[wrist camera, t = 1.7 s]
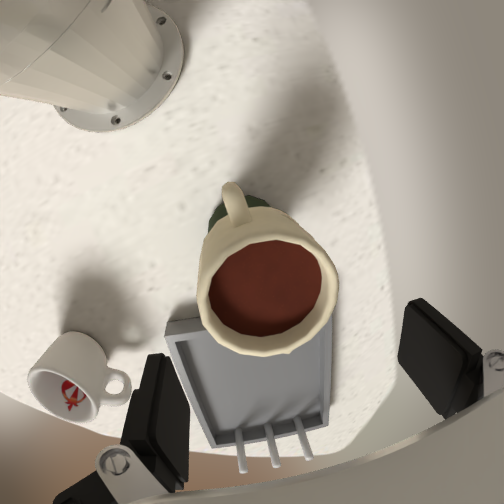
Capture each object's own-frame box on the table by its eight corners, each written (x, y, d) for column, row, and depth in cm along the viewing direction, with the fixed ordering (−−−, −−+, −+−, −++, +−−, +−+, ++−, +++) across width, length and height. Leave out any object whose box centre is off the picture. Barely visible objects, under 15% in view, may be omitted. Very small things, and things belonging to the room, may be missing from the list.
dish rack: (167, 322, 28) (156, 374, 21) (323, 293, 30) (354, 336, 22) (211, 434, 35) (213, 479, 28) (323, 413, 37) (340, 454, 29)
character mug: (297, 268, 28) (353, 352, 16) (226, 294, 28) (239, 394, 16) (262, 157, 24) (311, 166, 12) (183, 185, 24) (154, 223, 12)
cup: (138, 335, 29) (122, 388, 21) (139, 386, 31) (128, 437, 24) (50, 315, 27) (18, 357, 19) (59, 367, 29) (37, 411, 22)
